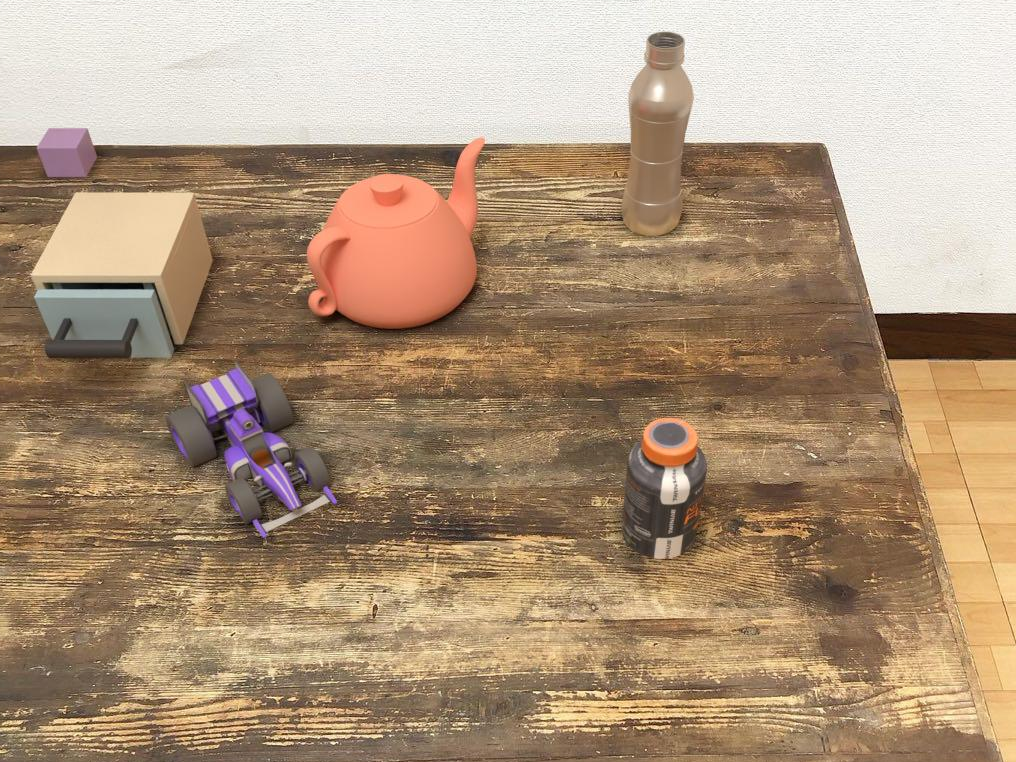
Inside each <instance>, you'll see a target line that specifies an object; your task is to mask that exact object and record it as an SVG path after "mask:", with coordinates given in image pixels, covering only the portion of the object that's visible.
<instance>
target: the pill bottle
mask: <svg viewBox="0 0 1016 762" xmlns="http://www.w3.org/2000/svg"><path fill="white" fill-rule="evenodd" d="M698 444H699V435H698V431H696V429H695V427H694V426H693V425H692V424H690V423H689V422H687V421H685V420H684V419H680V418H675V417H661V418H658V419H655V420H653V421H651V422H650V423H648V424H647V426H646V427H645V428H644V431H643V434H642V439H641V440H640V441H638V442H637V443H636V444H634V446H633V447H632V448H631V450H630V452H629V455H628V458H627V464H626V475H625V485H624V496H623V509H622V519H621V520H622V521H621V535H622V537H623V540H624V542H625V543H626V545H627V546H628V547H629V548H630V549H631V550H633V552H636V553H637V554H638V555H641V556H643V557H647V558H649V559H654V560H655V559H656V560H666V559H667V560H668V559H673V558H676V557H678V556H680V555H683V554H685V553H686V552H687V551H689V550H690V549H691V548H692V546H693V545H694V543H695V541H696V538H697V532H698V527H699V520H700V514H701V508H702V503H703V496H704V489H705V484H706V478H707V472H708V464H707V459H706V456H705V454H704V452H703V451H702V449H701V448H700V447H699V446H698Z"/></svg>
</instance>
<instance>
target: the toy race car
mask: <svg viewBox="0 0 1016 762" xmlns="http://www.w3.org/2000/svg"><path fill="white" fill-rule="evenodd" d="M234 365H235V368H234V369H232V370H229V371H227V372H226V373H225V374H223V375H220V376H218V377H216V378H213V379H211V380H209V381H205V382H204V383H202V384H194V385H193V386H190V385H189V384H188V383H187V381H186V380H184V381H183V383H182V384H183V385H184V389H185V391H186V395H187V397H188V401H189V403H190V404H189V405H188V406H185V407H183V408H180V409H177V410H176V411H173V412H170V413H169V414H166V415H165V422H166V426H167V429H168V432H169V434H170V436H171V439H172V441H173V443H174V445H175V447H176V448H177V449H178V450H179V452H181V453H182V454H183V456H184V457H185V460H186V462H187V464H188V465H189V466H190V467H191V468H195V467H197V466H199V465H202V464H204V463H206V462H208V461H211V460H213V459H215V458H217V456H218V453H217V448H216V444H215V441H217V440H222V439H224V438H225V439H227V441H228V442H229V444H230V447H228V448H227V449H226V450H225V452H224V453H223V454H224V457H223V458H224V461H225V465H226V468H227V471H228V474H229V476H230V478H231V480H232V481H230V482H227V483H225V485H224V487H225V488H224V489H225V493H226V496H227V499H228V501H229V503H230V505H231V507H233V509H234V510H235V511H236V512H239V516H240V517H241V520H242V522H243V524H244V525H246V526H247V525H250V524H252V525H253V526H254V528H255V529H256V531H258V533H259V535H260V536H261V537H262V538H263V539H266V538H268V534H267V533H268V532H269V531H272V530H274V529H276V528H278V527H280V526H283V525H285V524H286V523H289V522H291V521H293V520H295V519H297V518H299V517H301V516H303V515H305V514H308V513H310V512H312V511H314V510H316V509H318V508H320V507H322V506H324V505H326V504H329V503H332V504H333V505H337V504H339V503H338V500H337V499H336V497H335V496H334V494H333V493H332V492H331V490H330V489H329V487H331V477H330V474H329V471H328V468H327V466H326V464H325V462H324V460H323V458H322V457H321V455H320V453H319V452H318V451H317V450H316V449H315V448H314V447H313V446H307V447H305V448H302V449H301V450H298V451H296V452H295V453H294V454H292V450H291V447H290V446H289V444H288V443H287V441H285V440H284V439H283V437H281V436H279V435H277V434H275V432H277V431H279V430H282V429H284V428H286V427H288V426H290V425H292V424H293V423H294V414H293V410H292V407H291V404H290V401H289V399H288V397H287V395H286V392H285V391H284V388H283V387H282V385H281V383H280V382H279V381H278V380H277V378H276V377H275V376H274V375H273V374H271V373H270V372H267V373H264V374H261V375H259V376H257V377H255V378H251V376H250V375H249V374H248V373H247V371H246V370H245V369H244V368H243V366H242V365H241V364H240V363H239V362H238V361H237V360H234ZM260 423H261V424H262V426H263V428H264V429H265V431H266V432H264V430H263V428H262V426H261V425H260ZM217 431H222V432H223V435H220V436H217V437H213V434H212V433H215V432H217ZM293 459H294V464H295V467H296V471H293V472H291V473H288V471H287V469H288V468H290V467H291V466H293V463H292V462H289V461H292V460H293ZM283 464H284V465H283ZM292 475H293V476H292ZM252 478H253V482H254V483H257V484H258V486H259V487H258V488H257V489H255V490H253V489H252V487H251V485H250V484H249V483H248V481H247V480H249V479H252ZM294 481H295V482H294ZM302 481H304V482H307V484H308V486H309V487H310V489H311V491H312V492H314V493H318V492H321V491H322V492H323V495H321V496H320V497H318V498H317V499H315V500H313V501H312V502H310V503H309V504H307V505H304V506H303V505H302V502H301V500H300V498H299V496H298V494H297V491H296V489H295V487H294V485H295V486H296V484H298V483H300V482H302ZM262 489H264V490H262ZM260 490H261V491H260ZM267 493H268V494H267ZM266 494H267V495H266ZM269 497H272V498H274V499H275V500H276V501H277V502H278V503H283V504H284V505H285V507H286V508H287V509H288V510H289V511H290V513H288V514H285V515H283V516H281V517H278V518H277V519H274V520H271V521H268V522H265V523H262V524H261V523H260V522H259V520H261V519H262V518H263V511H262V507H261V504H260V502H259V501H261V500H264V499H266V498H269Z"/></svg>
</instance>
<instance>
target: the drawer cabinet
mask: <svg viewBox="0 0 1016 762" xmlns="http://www.w3.org/2000/svg"><path fill="white" fill-rule="evenodd" d="M213 261H214V259H213V255H212V252H211V249H210V245H209V241H208V238H207V234H206V231H205V227H204V224H203V220H202V216H201V213H200V208H199V205H198V201H197V198H196V193H195V192H74V194H73V196H72V198H71V199H70V201H69V203H68V206H67V207H66V209H65V211H64V212H63V215H62V216H61V218H60V220H59V222H58V223H57V225H56V228H55V229H54V231H53V233H52V235H51V237H50V239H49V240H48V242H47V244H46V246H45V248H44V250H43V251H42V253H41V255H40V257H39V259H38V260H37V263H36V265H35V266H34V268H33V269H32V272H31V273H30V277H31V280H32V282H33V284H34V287H35V289H36V291H37V290H38V289H54V288H53V285H52V283H155V286H156V289H157V292H158V295H159V298H160V301H161V304H162V307H163V310H164V313H165V316H166V319H167V322H168V325H169V328H170V331H171V337H172V341H173V343H174V345H183V344H184V342H185V339H186V337H187V334H188V331H189V329H190V325H191V323H192V320H193V318H194V314H195V312H196V309H197V306H198V303H199V300H200V297H201V295H202V292H203V289H204V286H205V284H206V280H207V278H208V275H209V273H210V270H211V267H212V265H213Z"/></svg>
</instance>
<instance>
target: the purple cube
mask: <svg viewBox="0 0 1016 762" xmlns="http://www.w3.org/2000/svg"><path fill="white" fill-rule="evenodd" d="M36 151H37V153H38V156H39V158H40V162H41V164H42V166H43V168H44V169H43V170H44V172H45V175H46V177H47V178H86V177H88V175H89V173H90V171H91V169H92V168H93V165H94V164H95V162H96V160H97V158H98V155H97V153H96V149H95V146H94V144H93V140H92V137H91V134H90V131H89V129H88V127H60V128H59V127H49V128H48V129H47V130H46V132H45V134H44V135H43V137H42V138H41V140H40V142H39V143H38V145H37V146H36Z"/></svg>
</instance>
